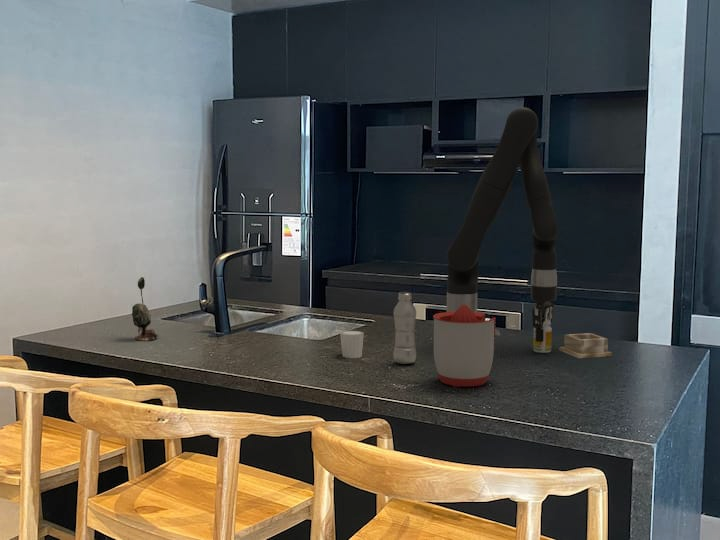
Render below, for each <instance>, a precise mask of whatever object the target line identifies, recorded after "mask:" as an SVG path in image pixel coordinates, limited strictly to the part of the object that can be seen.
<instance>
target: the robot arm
mask: <svg viewBox="0 0 720 540" xmlns="http://www.w3.org/2000/svg"><path fill="white" fill-rule="evenodd" d="M538 128H539V119H538V116H537V114H536V113H535V112H534V111H533V110H532V109H530V108H529V107H525V106H524V107H518V108H515V109H513V110H512V111H510V113H509V114H508V115H507V118H506V121H505V125H504V128H503V132H502V135H501V137H500V140H499V143H498V146H497V148H496V150H495V152H494V153H493V155H492V157H491V158H490V160H489V162H488V163H487V164H486V166H485V168H484V170H483V172H482V174H481V176H480V178H479V180H478V183H477V185H476V187H475V189H474V190H473V194H472V197H471V199H470V201H469V204H468V208H467V211H466V214H465V217H464V221H463V223H462V225H461V227H460V228H459V230H458V232H457V235H456V236H455V238H454V239H453V240H452V242H451V244H450V246H449V247H448V249H447V251H446V260H447V282H446V312H456V311H457V309H458V308H459V307H461V306H462V305H464V304H465V305H467V306H468V307H469V308H470V309H471V310H472V312H478V285H479V253H480V249H481V246H482V245H483V240H484V238H485V236H486V234H487V232H488V230H489V228H490V226H491V225H492V224H493V221H494V220H495V219H496V217H497V215H498V214H499V211H500V210H501V208H502V207H503V204H504V203H505V200H506V198H507V196H508V193H509V192H510V188H511V187H512V184H513V181H514V178H515V176H516V171H517V169H518V165H519V169H520V174H521V181H522V186H523V191H524V196H525V200H526V204H527V207H528V209H529V212H530V216H531V217H530V218H531V221H532V229H531V230H532V231H531V234H532V261H531V263H532V264H531V266H532V267H531V275H530V277H531V278H530V299H531V300H533V301H536V305H535V306H534V308H532V310H531V312H532V316H531V317H532V328H533V329H534V328H535V329H536V341H537V342H543V339H544V324H545V322H546V321H547V319H549V320H550V324H549V326H550V327H551V325H552V324H553V323H554V320H553V319H554V309H555V308H554V306H555V304H554V303H552V302H554V301H557V296H558V295H557V293H558V292H557V291H558V290H557V288H558V274H557V261H558V260H557V259H558V258H557V252H556V239H557V236H558V233H559V225H558V220H557V216H556V213H555V210H554V208H553V202H552V198H551V197H552V196H551V193H550V188H549V183H548V180H547V176H546V173H545V170H544V166H543V164H542V160H541V157H540V153H539V145H538V137H537V131H538ZM542 318H543V319H542ZM538 322H539V324H538Z"/></svg>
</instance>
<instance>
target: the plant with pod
mask: <svg viewBox="0 0 720 540" xmlns="http://www.w3.org/2000/svg"><path fill="white" fill-rule="evenodd" d="M145 286H146V283H145V277H142V276H140V278H139V279H138V281H137V287H138V289H139V290H140V296H141V301H142V302H140V303H136V304H134V305H132V310H131V311H132V312H131V317H132V322H133V325H134V326H135V327H137V328H138V330H137V332H138V335H136V336H134V337H135V339H136V340H138V341H140V342H143V341H144V342H146V341H153V340H156V339H157V338H158V337H159V334H158V333H156V332H155V330H154V329H153V328H149V329H148V326H149V325H151V323H152V320H151V319H152V317H151V314H150V311H149V309H148V307H147V305H146V304H144V300H143V299H144V298H143V289H145Z"/></svg>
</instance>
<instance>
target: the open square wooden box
mask: <svg viewBox="0 0 720 540" xmlns="http://www.w3.org/2000/svg"><path fill="white" fill-rule="evenodd" d="M608 345H609V339H608V338H607V337H604V336H600V335H597V334H595V333H593V332H590V333H589V332H588V333H573V334H572V333H569V334H564V346H559V348H558V349H559V352H563V353H565V354H567V355H568V356H571V357H573V358H577V359H590V358H606V357H607V356H608V357H613V352H612V351H608V348H609V347H608Z"/></svg>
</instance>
